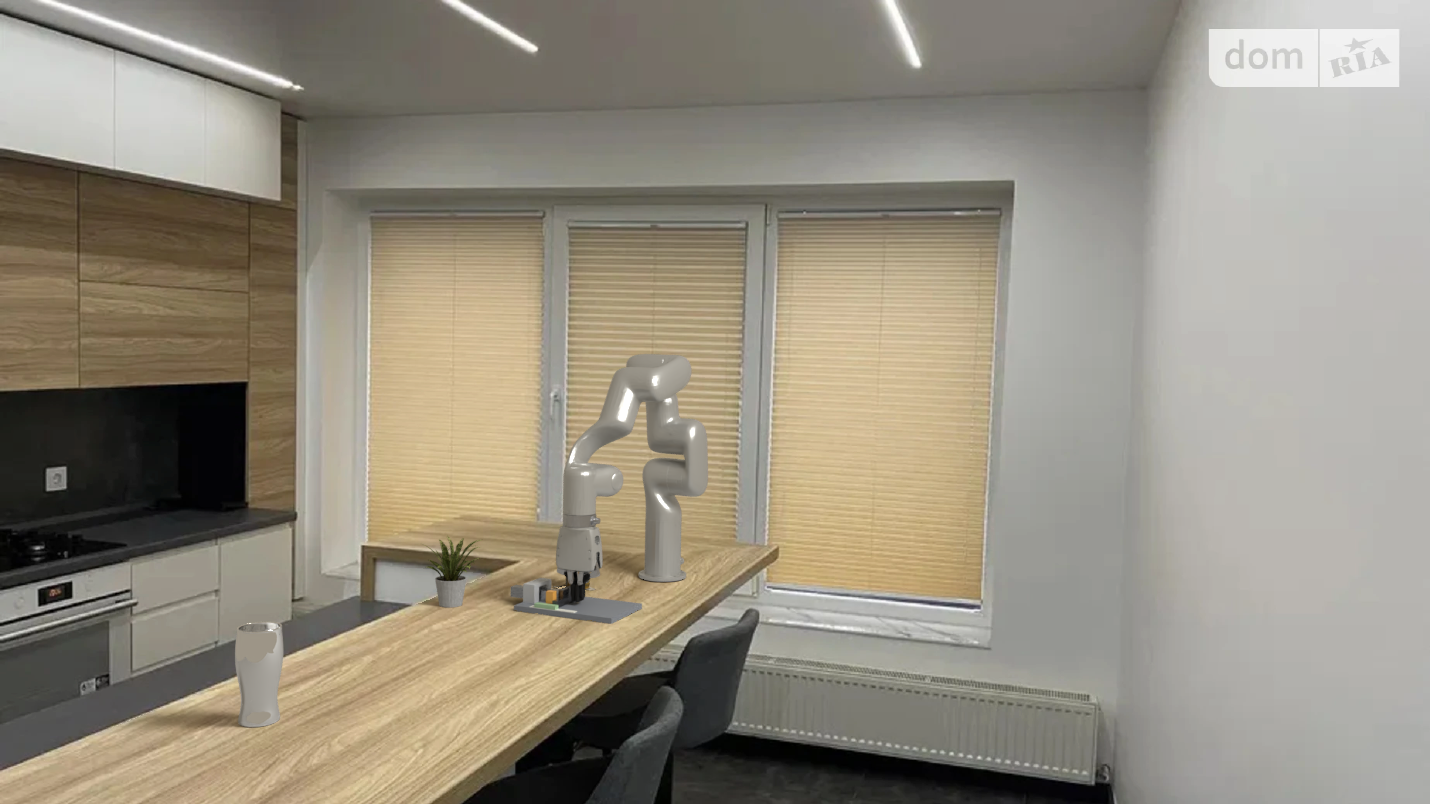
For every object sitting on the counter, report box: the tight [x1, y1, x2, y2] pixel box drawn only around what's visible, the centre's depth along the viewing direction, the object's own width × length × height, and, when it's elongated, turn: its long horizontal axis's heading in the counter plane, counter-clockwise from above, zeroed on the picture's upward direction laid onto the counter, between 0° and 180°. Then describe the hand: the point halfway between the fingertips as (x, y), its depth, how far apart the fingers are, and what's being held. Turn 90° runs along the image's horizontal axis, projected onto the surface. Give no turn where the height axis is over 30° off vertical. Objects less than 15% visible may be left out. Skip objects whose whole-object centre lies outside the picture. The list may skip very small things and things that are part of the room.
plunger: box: [510, 584, 572, 608], centre depth 239 cm, size 9×15×4 cm, turn 68°
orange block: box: [546, 590, 557, 604], centre depth 234 cm, size 2×2×4 cm
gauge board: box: [513, 577, 643, 625], centre depth 237 cm, size 15×25×5 cm, turn 68°
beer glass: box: [234, 620, 284, 728], centre depth 162 cm, size 7×7×15 cm
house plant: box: [421, 535, 482, 608], centre depth 238 cm, size 14×14×16 cm
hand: (577, 600), depth 237 cm, fingers closed
